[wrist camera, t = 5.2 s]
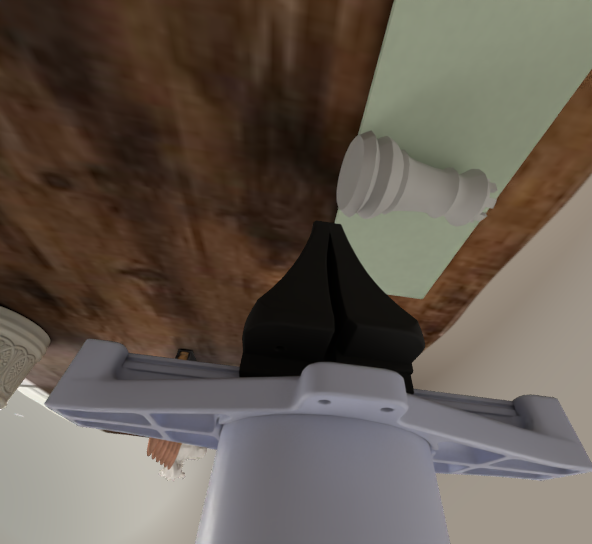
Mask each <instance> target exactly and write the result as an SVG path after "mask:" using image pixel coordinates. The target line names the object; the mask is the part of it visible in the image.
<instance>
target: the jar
mask: <svg viewBox="0 0 592 544" xmlns="http://www.w3.org/2000/svg"><path fill="white" fill-rule="evenodd" d="M49 344H50V338H49V336H48V335H47V333H46V332H45V331H44V330H43V329H42V328H40V327H39V326H38V325H36V324H35V323H34V322H32V321H30V320H29V319H27V318H25V317H23V316H21V315H20V314H18V313H16V312H13V311H11V310H9V309H6V308H4V307H1V306H0V410H2V409H4V408H5V407H6V406H7V402H8V400H9V399H10V397H11V396H12V395H13V394H14V392H15V391H16V390H17V388H18V387H19V386H20V384H21V383H22V381H23V380H24V379H25V377H26V376H27V375H28V373H29V372H30V371H31V369H32V368H33V367H34V365H35V364H36V363H37V362H39V361H40V360H41V359H42V356H43V355H44V354H45V353H46V351H47V347H48V346H49Z"/></svg>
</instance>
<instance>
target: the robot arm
mask: <svg viewBox="0 0 592 544" xmlns="http://www.w3.org/2000/svg"><path fill="white" fill-rule="evenodd" d="M242 341H243V355H242V359H241V364H240V367H237V366H229V365H221V364H213V363H205V362H197V361H189V360H181V359H173V358H165V357H157V356H149V355H141V354H133V353H128V350H127V348H126V347H125V346H124V345H123V344H121V343H118V342H113V341H105V340H98V339H87V340H86V341H85V343H84V344H83V346H82V347H81V349H80V350H79V352H78V353H77V355H76V356H75V358H74V359H73V361H72V362H71V364H70V365H69V367H68V368H67V370H66V371H65V373H64V374H63V376H62V378H61V379H60V381H59V382H58V384H57V385H56V387H55V388H54V390H53V391H52V393H51V394H50V396H49V397H48V399H47V400H46V402H45V406H46V407H48V408H49V409H51V410H53V411H54V412H56V413H58V414H59V415H61V416H62V417H64V418H66V419H67V420H69V421H71V422H72V423H74V424H76V425H77V426H80V427H89V428H96V429H104V430H110V431H117V432H123V433H129V434H135V435H140V436H146V437H151V438H157V439H162V440H167V441H173V442H178V443H183V444H189V445H194V446H199V447H205V448H210V449H216V450H217V451H216V456H215V459H214V464H213V468H212V472H211V477H210V481H209V485H208V489H207V494H206V498H205V502H204V507H203V511H202V515H201V519H200V523H199V528H198V532H197V537H196V541H195V544H450V540H449V535H448V530H447V525H446V521H445V516H444V511H443V506H442V502H441V497H440V492H439V488H438V484H437V479H436V474H435V473H443V474H464V475H481V476H499V477H510V478H522V479H531V480H540V481H542V480H548V479H554V478H559V477H565V476H570V475H576V474H582V473H587V472H592V462H591V461H590V459H589V457H588V455H587V453H586V451H585V449H584V448H583V446H582V444H581V442H580V440H579V438H578V436H577V435H576V433H575V431H574V429H573V427H572V425H571V423H570V421H569V420H568V418H567V416H566V414H565V412H564V410H563V408H562V407H561V405H560V403H559V401H558V399H556V398H554V397H546V396H539V395H522V396H519V397H517V398H516V399H514V400H513V401H506V400H498V399H490V398H483V397H475V396H466V395H458V394H450V393H443V392H435V391H427V390H419V389H413V384H412V380H411V374H412V373H413V367H412V362H413V361H414V360H415V359H416V358H417V357H418V356H419V355H420V354H421V353H422V351H423V350H424V348H425V342H424V338H423V334H422V331H421V328H420V326H419V323H418V321H417V320H416V319H415V318H414V317H412V316H411V315H410V314H408V313H407V312H406V311H405V310H403V309H402V308H401V307H400V306H398V305H397V304H396V303H395V302H394V301H393V300H392V299H391V298H390V297H389V296H388V295H387V294H386V293H385V292H384V291H383V290H382V289H381V288H380V287H379V286H378V285H377V284H376V283H375V282H374V280H373V279H372V278H371V277H370V275H369V274H368V273H367V271H366V270H365V268H364V267H363V265H362V264H361V262H360V261H359V259H358V257H357V256H356V254H355V252H354V250H353V248H352V247H351V245H350V243H349V241H348V239H347V236H346V234H345V232H344V230H343V227H342V225H341V224H336V223H329V222H322V221H315V222H314V223H313V228H312V233H311V235H310V238H309V240H308V242H307V244H306V246H305V248H304V249H303V251H302V253H301V254H300V256H299V257H298V259H297V260H296V262H295V263H294V265H293V266H292V267H291V268H290V270H289V271H288V272H287V273H286V274H285V276H284V277H283V278H282V279H281V280H280V281H279V282H278V283H277V284H276V285H275V286H274V287H273V288H271V289H270V290H269V291H268V292H267V293H265V294H264V295H263V296H262V297H260V298H259V299H258V300H257V302H256V303H255V305H254V307H253V308H252V310H251V312H250V314H249V316H248V318H247V320H246V323H245V326H244V331H243V336H242Z"/></svg>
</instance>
